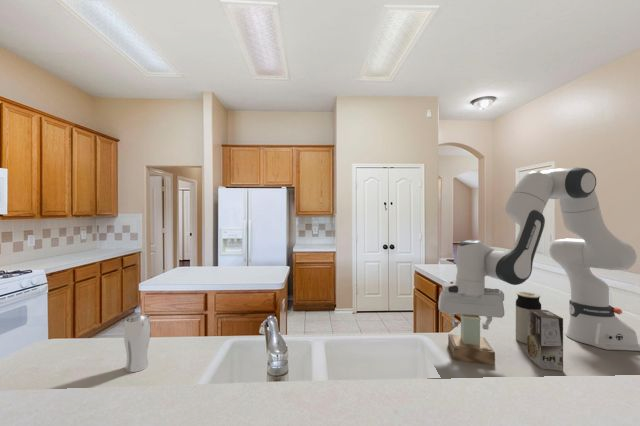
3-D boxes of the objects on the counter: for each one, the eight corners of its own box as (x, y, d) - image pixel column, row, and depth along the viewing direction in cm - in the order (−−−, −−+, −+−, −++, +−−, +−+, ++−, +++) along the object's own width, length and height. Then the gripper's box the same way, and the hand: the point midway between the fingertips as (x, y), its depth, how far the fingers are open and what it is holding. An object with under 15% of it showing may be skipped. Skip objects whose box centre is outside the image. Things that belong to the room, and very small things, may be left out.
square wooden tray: (484, 348, 105) (484, 336, 105) (494, 365, 94) (494, 351, 94) (448, 344, 108) (448, 333, 108) (454, 359, 97) (454, 346, 97)
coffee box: (564, 371, 90) (564, 318, 90) (540, 369, 91) (540, 317, 92) (547, 357, 99) (547, 309, 99) (526, 355, 100) (526, 308, 101)
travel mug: (520, 344, 109) (520, 295, 110) (512, 336, 117) (512, 290, 117) (545, 347, 107) (545, 297, 107) (536, 338, 115) (536, 292, 115)
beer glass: (131, 362, 93) (132, 314, 93) (154, 361, 94) (155, 314, 94) (118, 373, 86) (119, 322, 86) (142, 373, 87) (143, 322, 87)
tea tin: (476, 339, 103) (476, 313, 103) (480, 345, 98) (480, 318, 98) (460, 337, 104) (460, 311, 104) (463, 343, 99) (463, 316, 99)
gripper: (501, 287, 102) (501, 327, 101) (437, 283, 107) (437, 321, 107) (507, 291, 96) (507, 334, 95) (440, 287, 101) (440, 327, 101)
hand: (470, 327), depth 101 cm, fingers open, 8 cm apart
